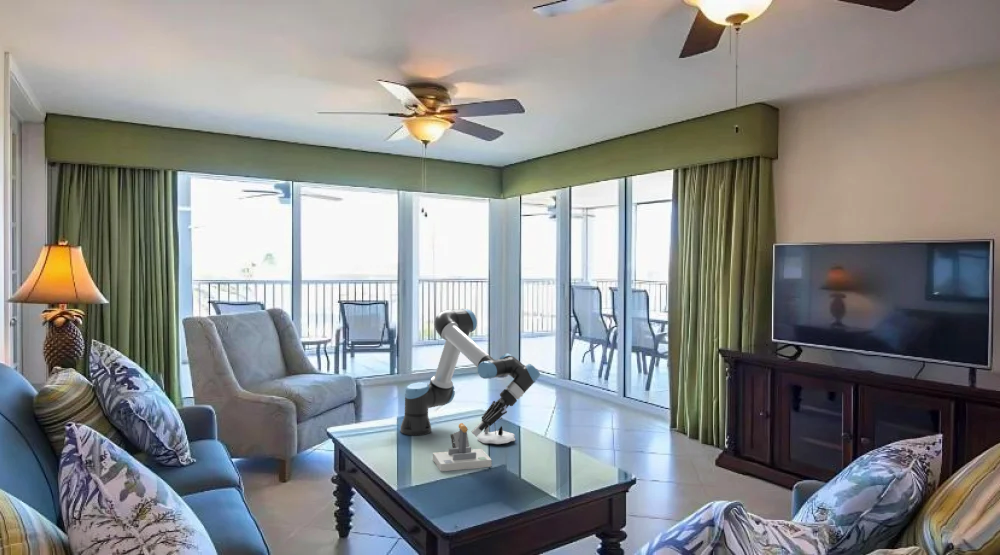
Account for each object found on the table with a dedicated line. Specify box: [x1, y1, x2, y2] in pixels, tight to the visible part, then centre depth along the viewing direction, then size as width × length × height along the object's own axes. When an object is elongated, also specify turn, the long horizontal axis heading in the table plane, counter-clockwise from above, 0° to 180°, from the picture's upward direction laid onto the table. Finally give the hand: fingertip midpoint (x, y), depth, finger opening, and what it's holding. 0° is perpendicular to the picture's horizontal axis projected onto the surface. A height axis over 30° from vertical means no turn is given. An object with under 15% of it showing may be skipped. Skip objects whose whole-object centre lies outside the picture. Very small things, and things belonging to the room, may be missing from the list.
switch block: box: [432, 446, 493, 472], centre depth 249 cm, size 14×22×5 cm, turn 110°
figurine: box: [477, 416, 516, 445], centre depth 282 cm, size 20×18×16 cm
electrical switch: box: [450, 430, 470, 448], centre depth 267 cm, size 8×5×8 cm, turn 141°
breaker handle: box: [458, 422, 469, 453], centre depth 248 cm, size 6×2×13 cm, turn 20°
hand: (473, 434), depth 250 cm, fingers closed
